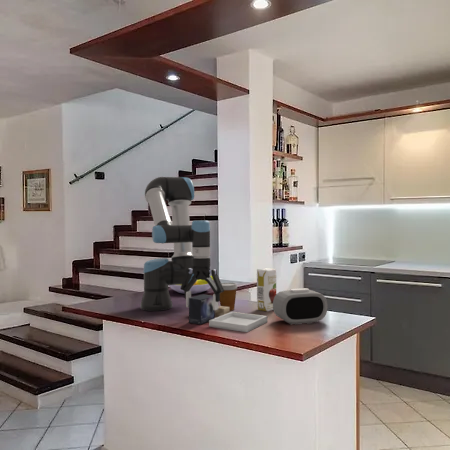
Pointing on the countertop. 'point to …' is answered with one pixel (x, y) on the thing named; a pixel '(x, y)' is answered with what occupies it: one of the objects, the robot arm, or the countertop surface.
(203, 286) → the fruit bowl
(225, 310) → the beech cube
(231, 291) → the disposable coffee cup
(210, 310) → the small box
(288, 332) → the countertop surface
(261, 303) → the juice carton
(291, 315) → the alarm clock
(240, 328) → the tray
